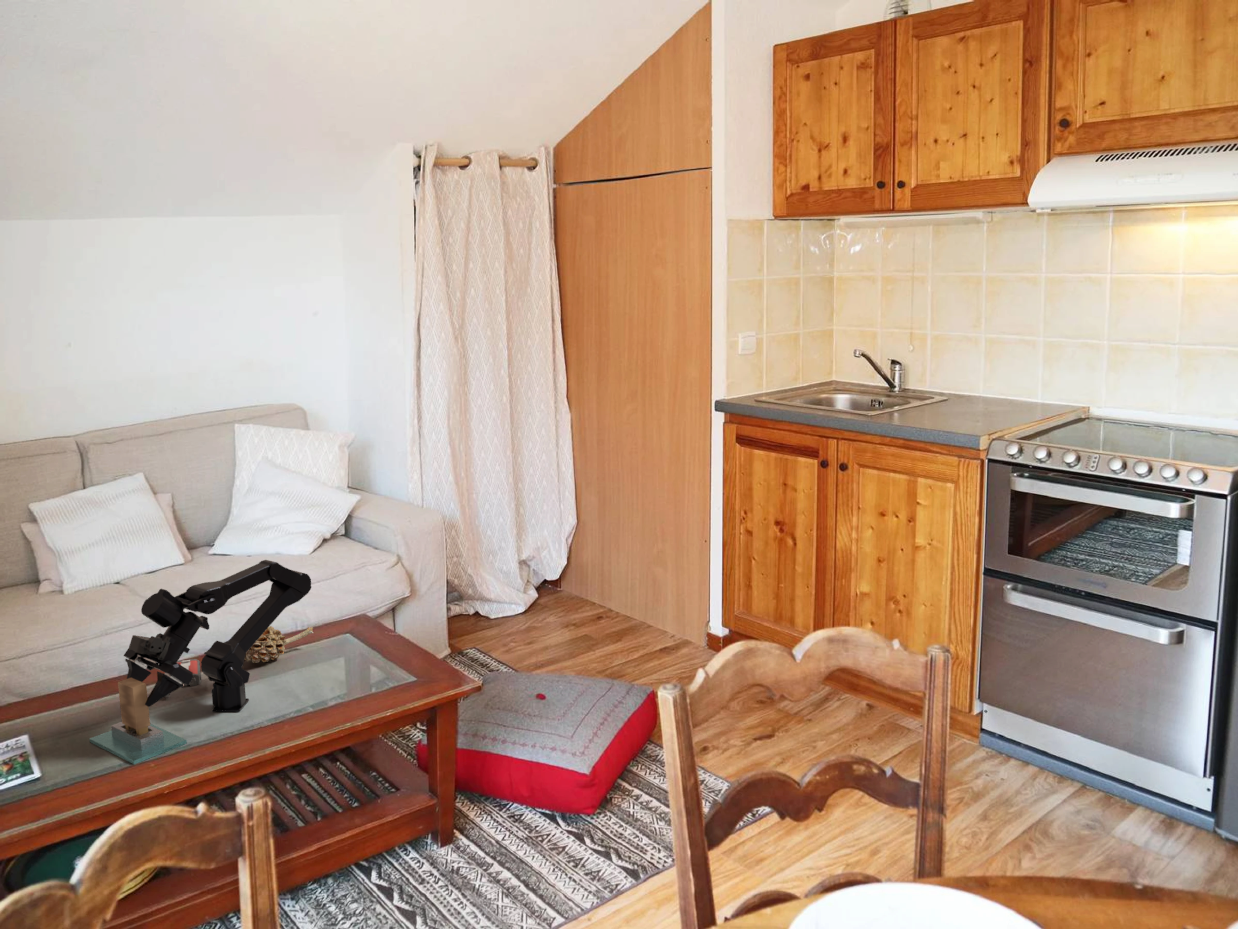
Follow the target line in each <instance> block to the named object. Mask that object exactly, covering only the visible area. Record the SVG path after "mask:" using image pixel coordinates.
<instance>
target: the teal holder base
mask: <svg viewBox="0 0 1238 929" xmlns="http://www.w3.org/2000/svg"><path fill="white" fill-rule="evenodd" d="M187 741H188V740H187V739H185V738H184V737H181V736H178V735H176V734H174V733H172V732H170V731H168V730H166V729H163V728H162V727H159V726H157V725H155V724H152V723H151V722H150V726H148V732H147V733H144V734H142V735H137V733H136V729H134V728H132V729H130V730H126V729H125V724H123V723H122V721H120V722H117V723H114V724H112V725H110V730H109V731H107V732H106V731H105V732H104V733H101V734H98V735H95V736H93V737H90V738H89V743H91V744H93V745H95V746H97V747H99V748H101V749H102V750H105V751H107V752H109V753H110V754H113V755H115V756H116V757H119V758H120V759H123V760H124V761H126V762H128V763H131V764H132V765H137V764H138V763H141V762H143V761H147V760H149V759H151V758H154V757H156V756H159V755H161V754H163V753H166V752H168V751H171V750H174V749H176V748H178V747H181V746H184V745H186V744H187V743H188V742H187Z"/></svg>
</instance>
